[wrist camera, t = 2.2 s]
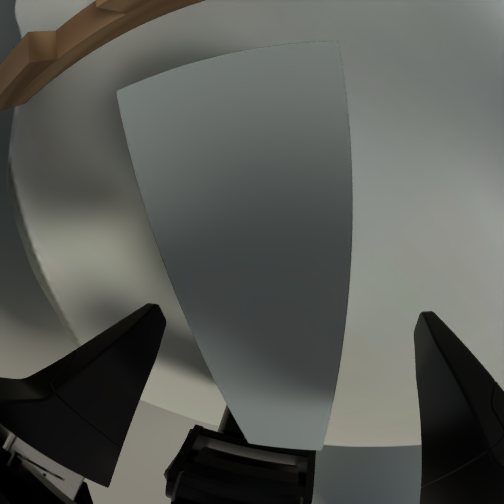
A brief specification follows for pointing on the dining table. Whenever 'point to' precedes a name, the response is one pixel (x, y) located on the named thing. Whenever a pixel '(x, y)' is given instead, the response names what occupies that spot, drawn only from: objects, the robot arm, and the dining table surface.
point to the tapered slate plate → (254, 223)
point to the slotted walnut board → (72, 44)
